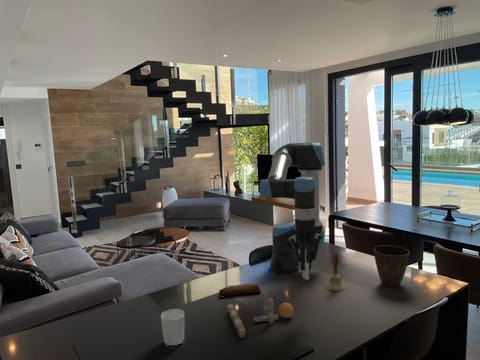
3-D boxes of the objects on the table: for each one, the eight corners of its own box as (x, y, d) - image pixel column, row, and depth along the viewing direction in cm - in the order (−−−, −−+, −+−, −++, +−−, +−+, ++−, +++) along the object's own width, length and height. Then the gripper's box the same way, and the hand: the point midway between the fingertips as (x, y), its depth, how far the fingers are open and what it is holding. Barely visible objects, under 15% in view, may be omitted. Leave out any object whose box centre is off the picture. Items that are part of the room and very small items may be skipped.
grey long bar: (228, 312, 144) (227, 305, 143) (233, 311, 144) (232, 304, 144) (240, 338, 124) (239, 330, 124) (245, 338, 125) (245, 329, 124)
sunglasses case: (256, 286, 168) (257, 277, 164) (259, 299, 162) (260, 290, 158) (217, 290, 165) (217, 281, 161) (219, 304, 159) (219, 294, 155)
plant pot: (392, 276, 173) (393, 243, 172) (416, 288, 159) (417, 252, 157) (366, 281, 169) (366, 247, 167) (389, 293, 155) (389, 257, 153)
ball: (285, 297, 140) (292, 307, 142) (274, 305, 139) (280, 316, 141) (291, 303, 135) (298, 314, 136) (280, 312, 134) (286, 323, 135)
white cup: (164, 336, 128) (162, 309, 127) (186, 334, 128) (185, 308, 127) (161, 349, 120) (159, 321, 119) (185, 347, 121) (183, 319, 119)
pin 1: (262, 314, 141) (262, 292, 140) (267, 313, 141) (267, 291, 140) (264, 317, 139) (263, 294, 138) (269, 316, 139) (268, 293, 138)
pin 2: (267, 322, 135) (266, 299, 134) (272, 321, 135) (272, 298, 134) (269, 324, 133) (268, 301, 132) (274, 323, 133) (273, 300, 132)
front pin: (276, 313, 138) (253, 317, 136) (277, 314, 136) (254, 317, 134) (277, 319, 137) (254, 322, 136) (278, 320, 136) (255, 323, 134)
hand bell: (343, 283, 167) (342, 250, 165) (346, 291, 159) (346, 256, 157) (324, 283, 168) (324, 250, 166) (327, 291, 159) (326, 256, 158)
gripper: (292, 222, 131) (293, 284, 134) (325, 218, 134) (325, 279, 137) (285, 217, 138) (286, 276, 141) (316, 214, 141) (317, 272, 144)
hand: (305, 278), depth 139 cm, fingers closed
